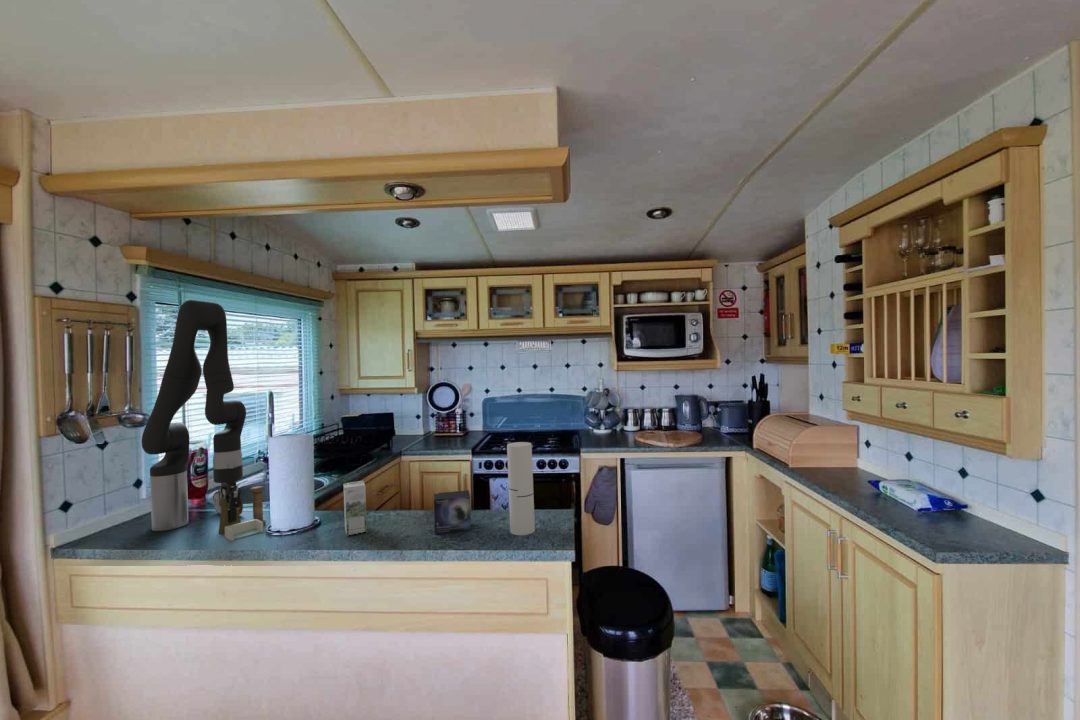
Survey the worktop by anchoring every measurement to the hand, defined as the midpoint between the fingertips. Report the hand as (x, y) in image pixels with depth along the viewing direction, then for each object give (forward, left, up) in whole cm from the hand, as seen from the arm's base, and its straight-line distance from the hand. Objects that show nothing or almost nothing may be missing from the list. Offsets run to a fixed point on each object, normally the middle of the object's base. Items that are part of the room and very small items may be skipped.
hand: (229, 520), depth 140 cm
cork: (0, 0, -3) cm, 3 cm away
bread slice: (-19, +4, -4) cm, 20 cm away
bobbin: (+2, +7, -3) cm, 8 cm away
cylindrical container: (+76, +51, -3) cm, 92 cm away
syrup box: (+35, +22, -4) cm, 42 cm away
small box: (+58, +40, -4) cm, 71 cm away
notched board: (+8, +1, -3) cm, 8 cm away
